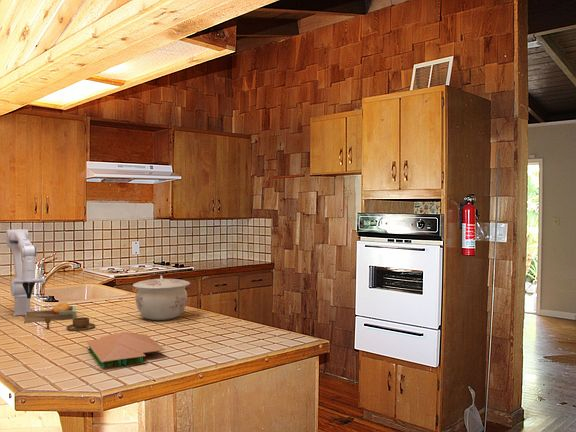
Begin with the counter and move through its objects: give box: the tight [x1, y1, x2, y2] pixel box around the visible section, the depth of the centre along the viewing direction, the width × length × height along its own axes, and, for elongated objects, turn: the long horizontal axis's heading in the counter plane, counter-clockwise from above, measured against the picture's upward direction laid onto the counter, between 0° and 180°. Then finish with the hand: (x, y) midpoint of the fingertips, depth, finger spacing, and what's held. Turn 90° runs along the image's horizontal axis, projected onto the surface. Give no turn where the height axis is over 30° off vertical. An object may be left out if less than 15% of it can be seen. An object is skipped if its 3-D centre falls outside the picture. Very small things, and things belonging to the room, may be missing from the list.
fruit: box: [51, 302, 70, 315], centre depth 269 cm, size 8×8×8 cm
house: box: [86, 331, 166, 370], centre depth 203 cm, size 23×33×8 cm
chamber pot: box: [132, 275, 191, 322], centre depth 267 cm, size 28×28×21 cm
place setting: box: [44, 316, 99, 332], centre depth 246 cm, size 18×20×6 cm
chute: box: [23, 305, 77, 324], centre depth 267 cm, size 14×23×4 cm, turn 112°
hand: (29, 298), depth 265 cm, fingers closed
